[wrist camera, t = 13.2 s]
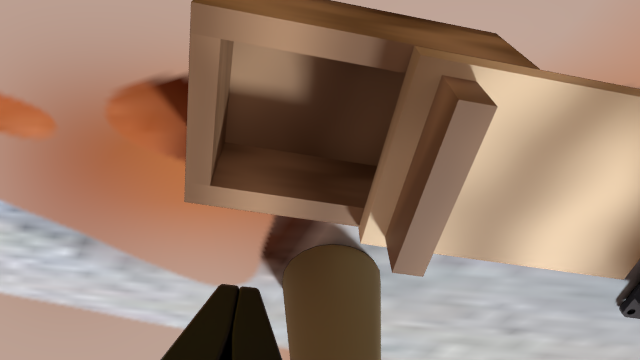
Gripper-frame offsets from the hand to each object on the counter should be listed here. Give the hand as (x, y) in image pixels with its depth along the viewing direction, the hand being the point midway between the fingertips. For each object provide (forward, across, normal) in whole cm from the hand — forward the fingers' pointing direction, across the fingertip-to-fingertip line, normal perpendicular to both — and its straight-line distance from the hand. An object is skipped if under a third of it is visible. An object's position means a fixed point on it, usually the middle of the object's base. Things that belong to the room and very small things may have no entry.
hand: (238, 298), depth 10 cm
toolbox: (+13, -3, 0) cm, 13 cm away
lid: (+8, -10, 0) cm, 13 cm away
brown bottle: (+13, -5, +12) cm, 18 cm away
